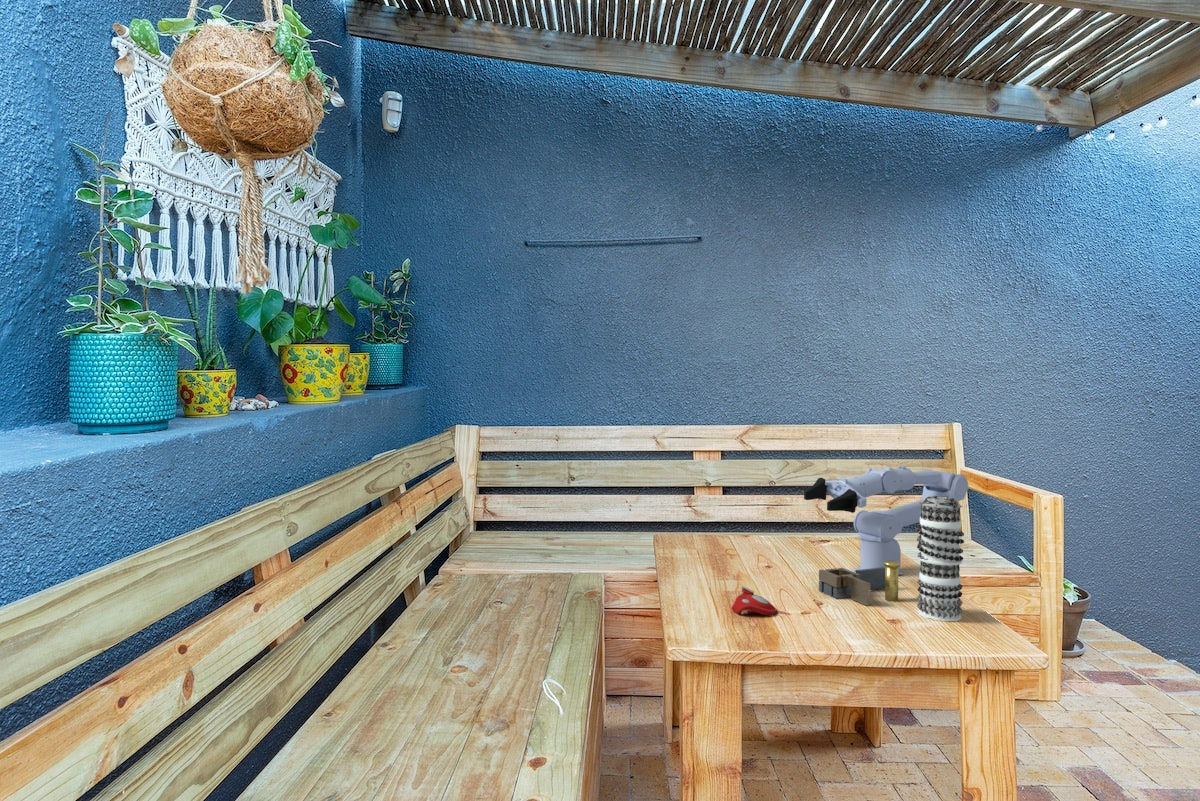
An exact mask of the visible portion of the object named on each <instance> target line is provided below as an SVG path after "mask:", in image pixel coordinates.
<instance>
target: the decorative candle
mask: <svg viewBox="0 0 1200 801" xmlns="http://www.w3.org/2000/svg"><path fill="white" fill-rule="evenodd" d="M920 504H921V517H920V522H917V523H915V524H916V525H917V527H916V528H915V529H916V532H917V534H918V535H917V539H916V541H917V542H918V543H917V545H916V548H917V549H918V551H919V552H917V553H918V554H917V559H918V560H919V562H920V566H919V568H920V569H919V570H920V571H919V578H918V581H917V584H918V585H919V586H918V587H917V592H918V593H919V594H918V596H917V597H916V599H917V601H918V603H917V605H916V606H917V609H918V610H917V614H918V613H919V614H918V616H920V615H921V616H920V617H922V616H923V617H922V618H924V617H926V618H925V619H927V618H931V619H936V620H943V621H955V622H957V621H956V620H959V621H961V620H962V615H961V614H962V611H963V608H962V607H961V606H962V605H963V600H961V598H962V595H963V592H962V591H961V590H962V589H963V585H962V584H961V583H962V582H961V581H962V580H961V578H962V577H961V574H960V571H961V568H960V565H962V564H963V560H964V557H963V556H961V554H963V553H964V550H963V549H962V548H961V547H960V545H962V544H964V543H965V540H964V539H963V538H962V537H963V536H965V532H963V531H962V530H960V529H961V528H962V520H961V508H962V507H963V506H962V505H961V504H960V503H959V501H958V502H957V500H956V499H954V498H951V497H945V496H929V497H927V498H925V500H924V501H923V502H922V503H920ZM960 619H961V620H960Z"/></svg>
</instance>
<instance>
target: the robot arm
mask: <svg viewBox="0 0 1200 801" xmlns="http://www.w3.org/2000/svg"><path fill="white" fill-rule="evenodd" d="M915 485H922V486H923V488H922V489H923V490H922V496H921V499H920V500H917V501H914V502H910V503H907V504H904V505H901V506H898V507H893V508H890V509H887V510H871V511H868V510H860V511H858V512H857V513H856V514H855V516H854V518H853V528H854V530H855V532H856V533H857V534H858V537H859V538H860V548H859V549H860V558H859V559H860V560H859V561H860V564H859V566H860V567H855V568H854V567H853V568H852V571H853V572H856V570H860V569H870V568H880V567H885V565H883V561H886V560H892V561H898V562H900V563H901V551H902V550H901V547H900V543H899V542H898V540H896V539H895V538H896V536H898V535H899V534H902V532H903V528H904V527H908V526H910V525H915V524H916V523H917V522H920V517H921V504H920V503H922V502H923V501H924V500H925V498H927V497H929V496H945V497H951V498H954V499H956V500H957V502H958V503H959V502H961V501H963V500H964V499H965V497H966V495H967V492H968V489H969V482H968V479H967V477H966V475H965V474H962V473H958V474H957V473H951V472H946V471H938V470H931V469H929V470H928V469H927V470H918V471H912V470H911V469H910V468H907V467H906V466H905V465H898V467H897V468H893V467H889V466H887V467H885V469H881V468H880V469H879V468H869V469H868V470H867V471H866V472H865V473H864V474H860V475H857V476H854V477H853V476H852V477H850V478H846V477H843V476H841V477H839V478H838V480H826V478H823V477H818V478H817V480H816V481H815V483H814V484H813V485H812V486H810V487H809V488H808V489H807V490H805V491H803V492H804V493H803V500H805V501H811V500H823V501H827V494H828V495H829V496H830V497H831V498H832V499H830V500H828V501H827V502H826V510H827V511H829V512H841V511H842V512H848V513H852V514H853V513H855V512H856V510H857V509H856V508H857V507H858V508H860V509H861V508H866V507H867V500H868V499H867V498H869V497H872V496H875V495H878V494H881V493H886V494H894V493H895V492H897V491H907V490H911V489H913V487H914V486H915ZM902 575H904V574H903V572H902V571H901V565H900V566H899V568H898V576H902Z"/></svg>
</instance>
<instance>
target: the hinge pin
mask: <svg viewBox="0 0 1200 801" xmlns="http://www.w3.org/2000/svg"><path fill="white" fill-rule="evenodd" d="M883 565H885V589H884V600H885V601H886V600H887V601H886V602H890V601H897V602H898V601H899V575H898V568H899V566H900V567H901V562H898V561H892V560H886V561H883Z"/></svg>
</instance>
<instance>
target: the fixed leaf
mask: <svg viewBox="0 0 1200 801" xmlns="http://www.w3.org/2000/svg"><path fill="white" fill-rule="evenodd" d="M855 573H858V574H860V575H861V580H863V581H865V582H868V583H870V590H873V591H878V590H877V589H882V590H885V567H880V568H870V569H860V570H856V571H855ZM818 591H819V592H820V593H823V594H824V595H827V596H829V597H831V598H832V597H833V599H836V600H839V599H849V598H851V588H849V587H842V586H841V587H838V588H836V587H834V586H831V585H829V584H827V583H824V582H822V581H820V580H818Z"/></svg>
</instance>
